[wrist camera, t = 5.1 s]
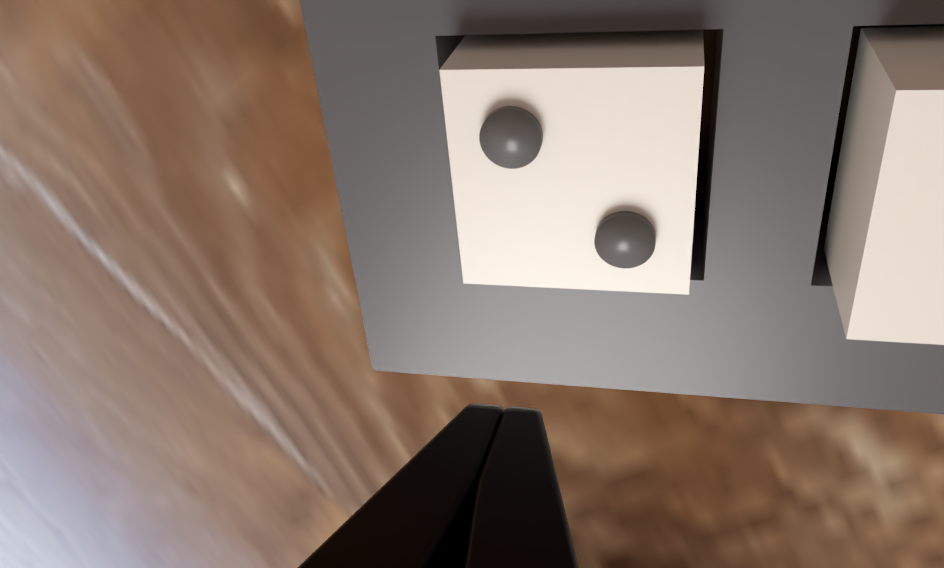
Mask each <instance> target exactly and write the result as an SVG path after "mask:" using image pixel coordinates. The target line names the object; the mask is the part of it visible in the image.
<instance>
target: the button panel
mask: <svg viewBox="0 0 944 568" xmlns="http://www.w3.org/2000/svg"><path fill="white" fill-rule="evenodd" d="M300 5H301V10H302V15H303V20H304V25H305V30H306V35H307V40H308V45H309V50H310V55H311V60H312V65H313V70H314V75H315V80H316V86H317V91H318V96H319V101H320V106H321V111H322V116H323V121H324V126H325V131H326V136H327V141H328V146H329V151H330V156H331V161H332V166H333V172H334V177H335V182H336V187H337V192H338V197H339V202H340V207H341V212H342V217H343V222H344V227H345V232H346V237H347V242H348V247H349V252H350V257H351V263H352V268H353V273H354V278H355V283H356V288H357V293H358V298H359V303H360V308H361V313H362V318H363V323H364V328H365V333H366V338H367V343H368V348H369V354H370V359H371V364H372V369H373V370H375V371H388V372H401V373H414V374H427V375H440V376H453V377H466V378H479V379H492V380H505V381H518V382H531V383H544V384H558V385H571V386H584V387H597V388H610V389H623V390H636V391H649V392H662V393H675V394H688V395H701V396H714V397H727V398H740V399H753V400H766V401H779V402H792V403H805V404H818V405H831V406H844V407H857V408H870V409H883V410H896V411H909V412H922V413H935V414H944V345H936V344H919V343H902V342H885V341H868V340H851V339H846V336H845V332H844V328H843V324H842V320H841V316H840V312H839V308H838V304H837V300H836V296H835V292H834V288H833V284H832V280H831V276H830V272H829V268H828V264H827V260H826V256H825V252H824V244H825V238H826V232H827V226H828V224H822V223H821V220H822V214H823V208H824V202H825V196H826V190H827V183H828V177H829V171H830V165H831V159H832V153H833V147H834V141H835V135H836V129H837V123H838V116H839V110H840V104H841V98H842V92H843V86H844V80H845V74H846V68H847V62H848V55H849V49H850V43H851V37H852V31H853V26H877V25H919V24H944V0H300ZM706 29H717V35H716V49H715V62H714V76H713V89H712V103H711V116H710V130H709V143H708V157H707V170H706V184H705V197H704V210H703V220H694V228H693V242H692V257H691V272H690V287H689V295H685V294H665V293H645V292H625V291H604V290H584V289H564V288H543V287H523V286H503V285H483V284H463V276H462V267H461V259H460V250H459V241H458V232H457V223H456V214H455V205H454V196H453V187H452V178H451V169H450V161H449V152H448V143H447V134H446V125H445V116H444V107H443V98H442V89H441V80H440V71H439V70H440V68H441V67H442V66H443V64H444V63H445V62H446V60H447V59H448V58H449V56H450V55H451V54H452V52H453V51H454V50H455V48H456V47H457V46H458V44H459V43H460V42H461V41H462V39H463V38H464V37H465V35H493V34H536V33H578V32H621V31H664V30H706Z"/></svg>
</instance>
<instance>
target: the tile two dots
mask: <svg viewBox="0 0 944 568" xmlns="http://www.w3.org/2000/svg"><path fill="white" fill-rule="evenodd" d="M439 71H440V80H441V89H442V98H443V107H444V116H445V125H446V134H447V143H448V152H449V161H450V169H451V178H452V187H453V196H454V205H455V214H456V223H457V232H458V241H459V250H460V259H461V267H462V276H463V284H483V285H503V286H523V287H543V288H564V289H584V290H604V291H625V292H645V293H665V294H685V295H689V287H690V272H691V257H692V242H693V228H694V213H695V198H696V183H697V168H698V154H699V139H700V124H701V109H702V94H703V80H704V38H703V30H664V31H621V32H578V33H536V34H493V35H465V37H464V38H463V39H462V41H461V42H460V43H459V44H458V46H457V47H456V48H455V50H454V51H453V52H452V54H451V55H450V56H449V58H448V59H447V60H446V62H445V63H444V64H443V66H442V67H441V68H440V70H439Z"/></svg>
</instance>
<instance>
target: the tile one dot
mask: <svg viewBox="0 0 944 568" xmlns="http://www.w3.org/2000/svg"><path fill="white" fill-rule="evenodd" d="M824 252H825V256H826V260H827V264H828V268H829V272H830V276H831V280H832V284H833V288H834V292H835V296H836V300H837V304H838V308H839V312H840V316H841V320H842V324H843V328H844V332H845V336H846V339H851V340H868V341H885V342H902V343H919V344H936V345H944V26H923V27H879V28H861V31H860V37H859V43H858V49H857V55H856V61H855V67H854V73H853V79H852V84H851V90H850V96H849V102H848V108H847V114H846V120H845V126H844V132H843V138H842V143H841V149H840V155H839V161H838V167H837V173H836V179H835V185H834V191H833V197H832V203H831V208H830V214H829V220H828V226H827V232H826V238H825V244H824Z"/></svg>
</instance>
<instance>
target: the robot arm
mask: <svg viewBox="0 0 944 568" xmlns="http://www.w3.org/2000/svg"><path fill="white" fill-rule="evenodd" d="M298 568H579V567H578V562H577V558H576V554H575V550H574V546H573V542H572V538H571V534H570V529H569V525H568V521H567V517H566V513H565V509H564V505H563V501H562V496H561V492H560V488H559V484H558V480H557V476H556V472H555V467H554V463H553V459H552V455H551V451H550V447H549V443H548V439H547V434H546V430H545V426H544V422H543V418H542V414H541V412H540V411H539V410H538V409H535V408H523V407H508V408H506V409H505V410H504V409H503V408H502V407H501V406H498V405H487V404H470V405H468V406H466V407H465V408H464V409H463V410H462V411H461V412H460V413H459V414H458V415H457V416H456V417H455V418H454V419H453V420H452V421H451V422H450V423H448V424H447V425H446V426H445V427H444V428H443V429H442V430H441V431H440V432H439V433H438V434H437V435H436V436H435V437H434V438H433V439H432V440H431V441H430V442H429V443H428V444H427V445H425V446H424V447H423V448H422V449H421V450H420V451H419V452H418V453H417V454H416V455H415V456H414V457H413V458H412V459H411V460H410V461H409V462H408V463H407V464H406V465H405V466H403V467H402V468H401V469H400V470H399V471H398V472H397V473H396V474H395V475H394V476H393V477H392V478H391V479H390V480H389V481H388V482H387V483H386V484H385V485H384V486H383V487H382V488H380V489H379V490H378V491H377V492H376V493H375V494H374V495H373V496H372V497H371V498H370V499H369V500H368V501H367V502H366V503H365V504H364V505H363V506H362V507H361V508H360V509H358V510H357V511H356V512H355V513H354V514H353V515H352V516H351V517H350V518H349V519H348V520H347V521H346V522H345V523H344V524H343V525H342V526H341V527H340V528H339V529H338V530H337V531H335V532H334V533H333V534H332V535H331V536H330V537H329V538H328V539H327V540H326V541H325V542H324V543H323V544H322V545H321V546H320V547H319V548H318V549H317V550H316V551H315V552H313V553H312V554H311V555H310V556H309V557H308V558H307V559H306V560H305V561H304V562H303V563H302V564H301V565H300V566H299V567H298Z"/></svg>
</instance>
